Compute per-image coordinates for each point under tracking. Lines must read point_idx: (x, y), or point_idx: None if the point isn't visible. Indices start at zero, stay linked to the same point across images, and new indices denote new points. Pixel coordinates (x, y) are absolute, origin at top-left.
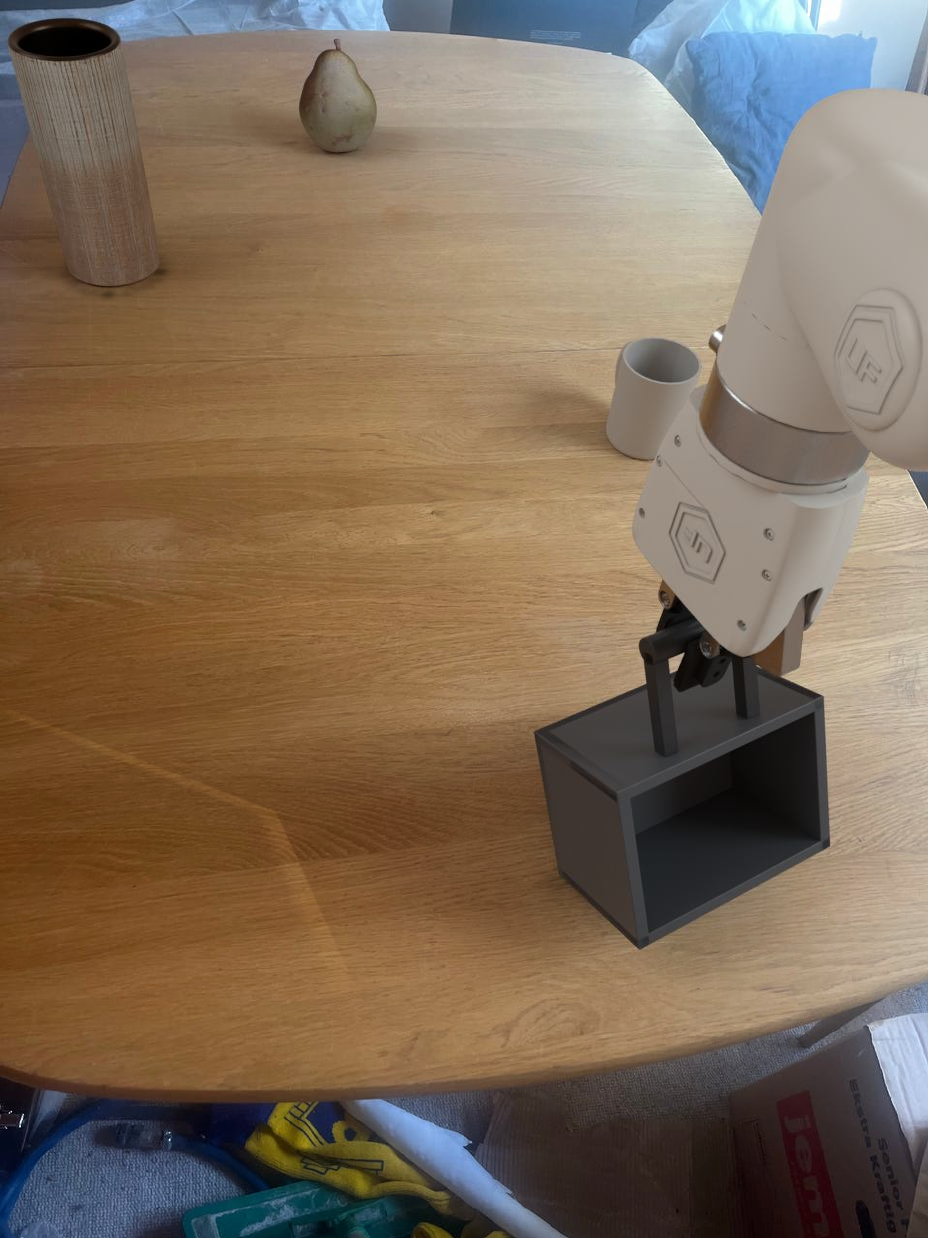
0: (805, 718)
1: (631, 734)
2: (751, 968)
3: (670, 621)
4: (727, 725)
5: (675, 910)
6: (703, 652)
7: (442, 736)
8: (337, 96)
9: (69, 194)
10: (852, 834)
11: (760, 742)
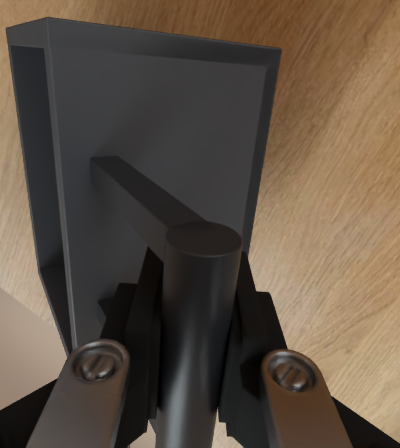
0: None
1: (177, 155)
2: (9, 150)
3: (238, 335)
4: (102, 273)
5: (29, 95)
6: (108, 343)
7: (366, 29)
8: None
9: None
10: None
11: None
